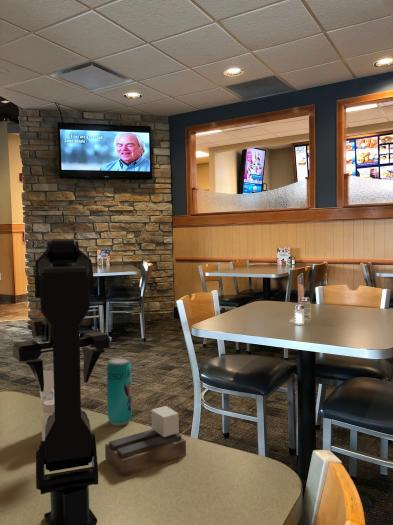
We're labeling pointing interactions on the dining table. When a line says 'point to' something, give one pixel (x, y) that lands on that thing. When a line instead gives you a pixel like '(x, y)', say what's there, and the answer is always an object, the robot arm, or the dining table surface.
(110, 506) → the dining table surface
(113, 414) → the beverage can
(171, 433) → the block
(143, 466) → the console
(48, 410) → the pepper shaker
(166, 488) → the dining table surface
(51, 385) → the metal cup
